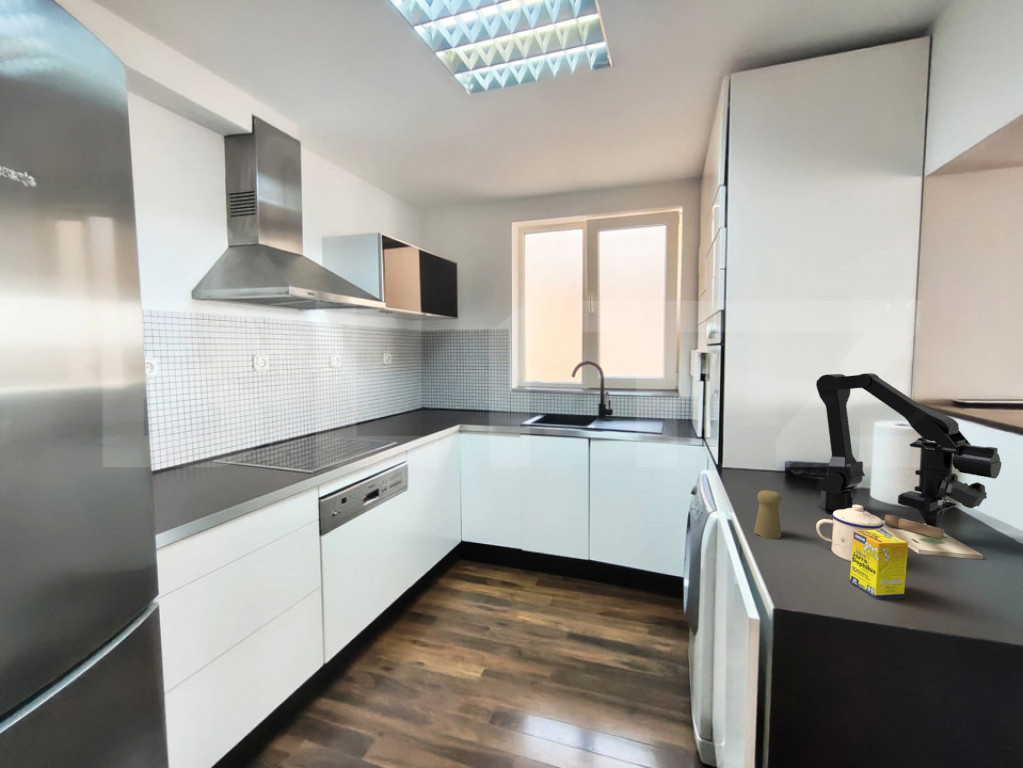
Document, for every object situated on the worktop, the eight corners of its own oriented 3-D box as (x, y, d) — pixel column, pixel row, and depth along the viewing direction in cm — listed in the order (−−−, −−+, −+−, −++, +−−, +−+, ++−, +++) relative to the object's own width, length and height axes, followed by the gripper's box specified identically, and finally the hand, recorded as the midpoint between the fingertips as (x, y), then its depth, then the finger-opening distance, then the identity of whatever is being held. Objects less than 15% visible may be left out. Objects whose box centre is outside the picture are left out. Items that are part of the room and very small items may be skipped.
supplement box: (848, 583, 89) (851, 530, 88) (876, 581, 89) (879, 529, 88) (875, 599, 83) (879, 543, 82) (905, 598, 83) (909, 541, 82)
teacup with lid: (877, 552, 102) (880, 503, 101) (884, 569, 94) (888, 516, 93) (814, 541, 108) (816, 494, 107) (816, 555, 100) (818, 505, 99)
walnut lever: (882, 524, 115) (882, 515, 115) (887, 521, 116) (888, 513, 116) (939, 539, 105) (940, 531, 105) (944, 537, 107) (945, 528, 107)
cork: (785, 540, 109) (787, 496, 108) (758, 538, 110) (760, 494, 109) (776, 530, 114) (778, 488, 114) (750, 528, 116) (752, 487, 115)
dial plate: (918, 553, 101) (918, 549, 101) (874, 523, 119) (874, 519, 119) (982, 559, 98) (983, 554, 98) (927, 527, 116) (928, 523, 116)
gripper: (958, 482, 96) (954, 551, 98) (1001, 471, 104) (997, 535, 105) (898, 469, 107) (895, 532, 108) (940, 460, 114) (937, 519, 115)
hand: (932, 530), depth 109 cm, fingers closed
